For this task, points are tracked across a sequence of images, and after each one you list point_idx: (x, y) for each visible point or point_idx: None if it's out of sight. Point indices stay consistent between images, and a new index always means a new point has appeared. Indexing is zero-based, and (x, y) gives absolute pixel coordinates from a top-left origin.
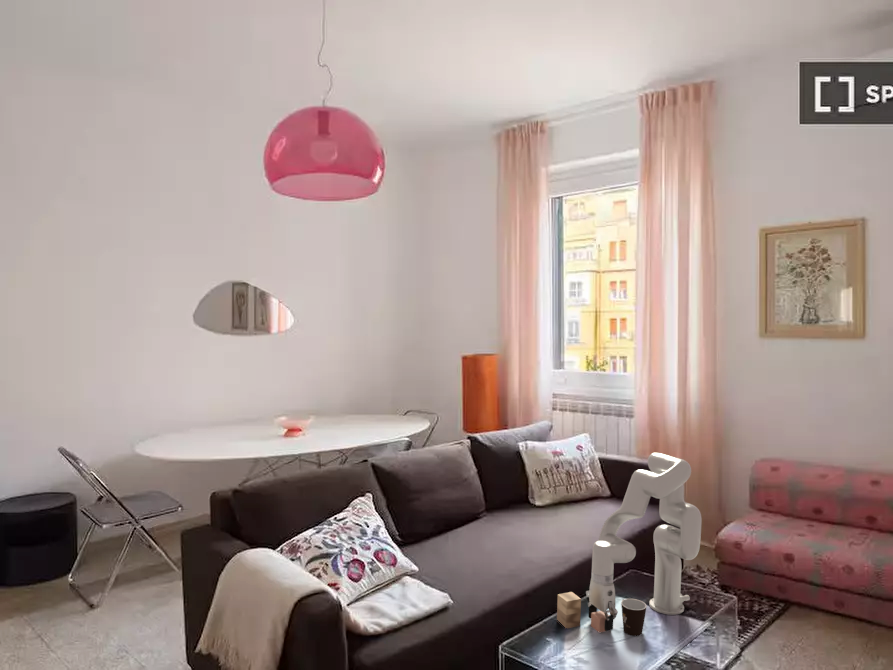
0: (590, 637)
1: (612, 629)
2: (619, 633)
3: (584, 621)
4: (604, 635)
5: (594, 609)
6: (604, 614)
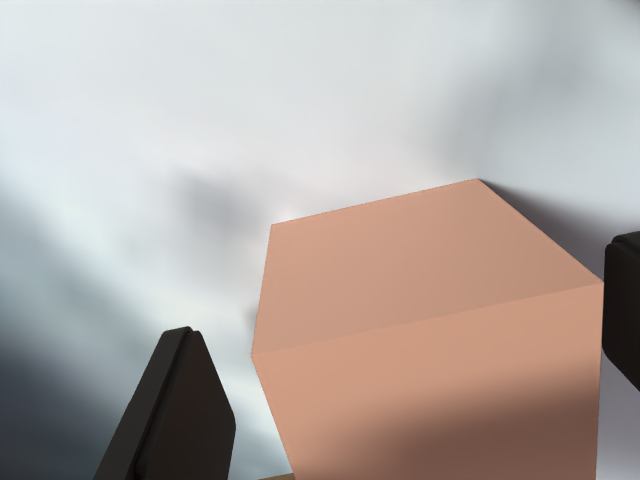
0: None
1: (638, 234)
2: (612, 86)
3: None
4: None
5: (182, 478)
6: (451, 384)
